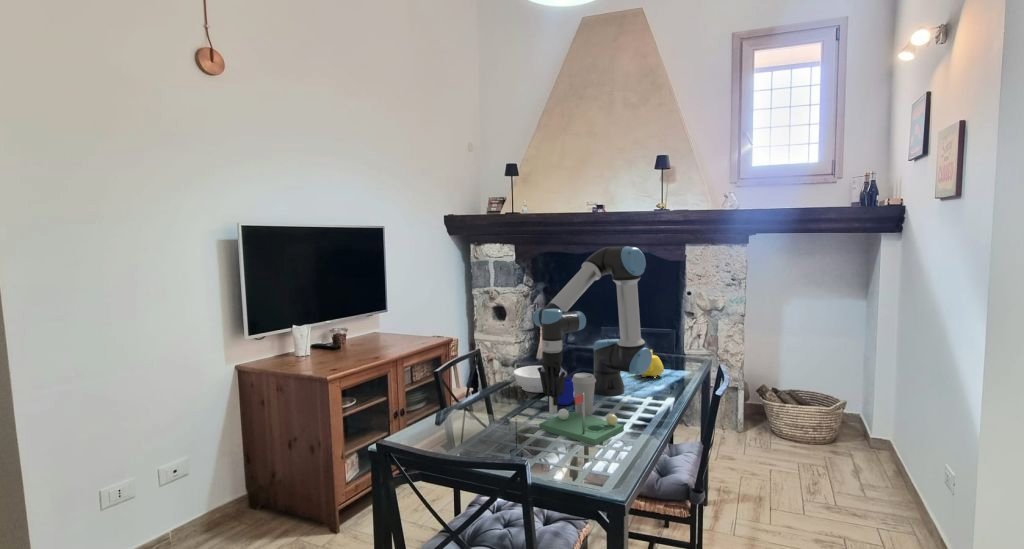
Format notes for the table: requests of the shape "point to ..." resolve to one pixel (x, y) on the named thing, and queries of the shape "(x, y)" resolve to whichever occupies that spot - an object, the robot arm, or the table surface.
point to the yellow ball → (611, 419)
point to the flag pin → (579, 400)
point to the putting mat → (572, 428)
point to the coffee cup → (584, 391)
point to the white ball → (563, 414)
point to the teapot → (654, 367)
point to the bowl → (529, 378)
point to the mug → (567, 393)
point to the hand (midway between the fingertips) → (553, 413)
